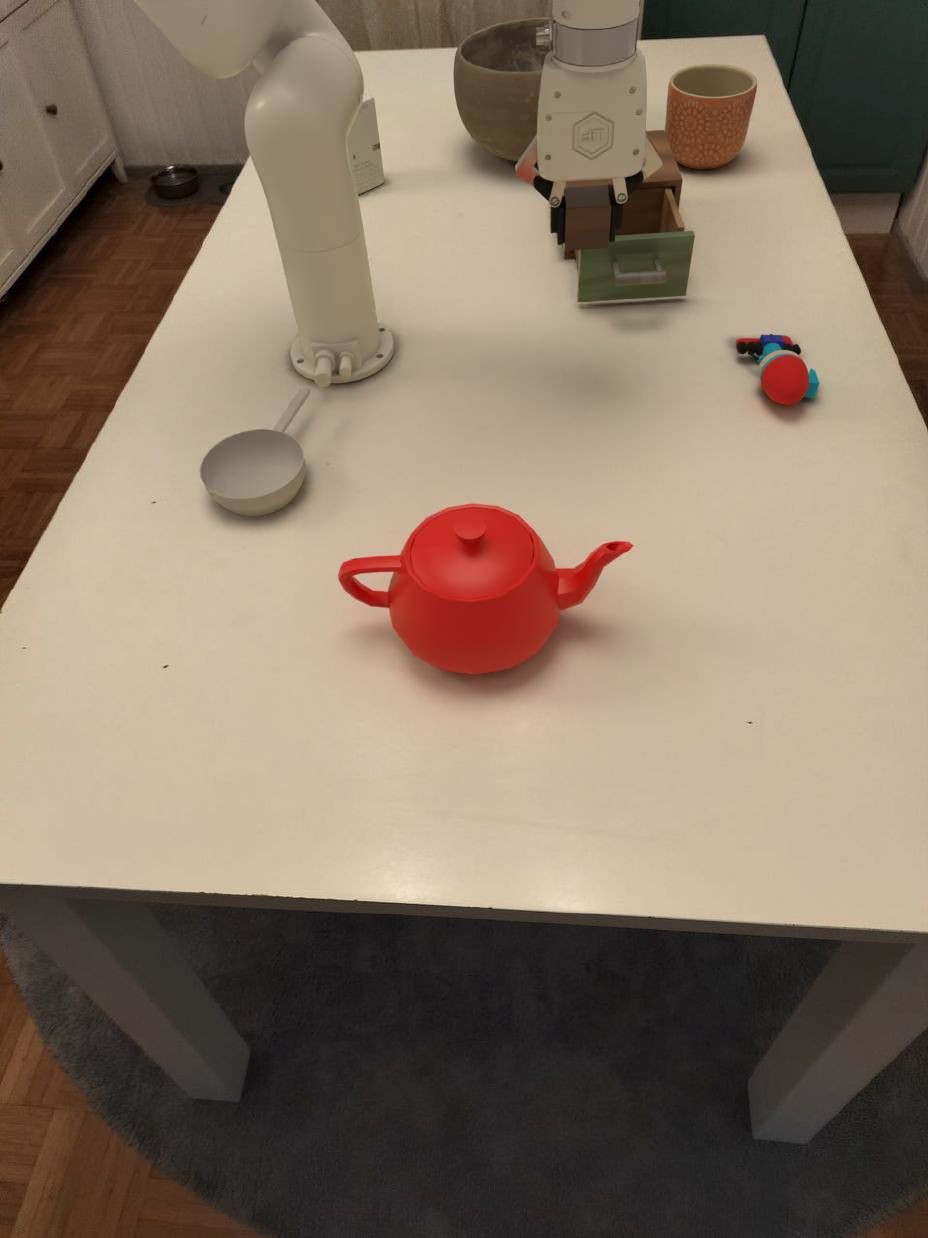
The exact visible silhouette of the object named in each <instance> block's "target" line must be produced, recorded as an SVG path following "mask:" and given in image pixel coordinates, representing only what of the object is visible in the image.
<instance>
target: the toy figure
mask: <svg viewBox="0 0 928 1238" xmlns="http://www.w3.org/2000/svg"><path fill="white" fill-rule="evenodd" d="M735 345H736V350H737V352H738V353H739V354H740V355H746V354H747V355H749V356H750V357H751V358H753V359H754V360H755V361H757V363H758V364H759V365H758V370H757V371H758V372H757V373H758V378H759V381H760V386H761V388H762V390H763V392H764V393H765V394H766V396H767V397H768V398H769V399H771V400H772V401H773V402H775V403H777V404H780V405H784V406H785V405H786V406H789V405H791V406H792V405H794V404H797V403H799V402H800V401H801V400H802V399H804V397H805V398H808V399H809V398H815V397H816V395H817V392H818V388H819V385H820V380H819V378H818V375H817V372H816V370H814V368H811V367H810V369H808V367H807V364H806V362H805V361H804V360H803V358H802V357H801V356H800V355H801V353H802V348H801V347H800V345H799V344H797V343H795V344H794V342H793V340H792V338H791V337H790V336H788V335H783V334H773V333H770V334H760V337H759V338H758V337H757V338H756V337H742V338H737V339H735Z"/></svg>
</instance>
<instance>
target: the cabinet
mask: <svg viewBox="0 0 928 1238" xmlns="http://www.w3.org/2000/svg"><path fill="white" fill-rule="evenodd" d="M646 133H647V135H648V136H649V138H650V140H651V141H652V143H653V144H654V146H655V147H656V149H657V151H658V152H659V154H660V155H661V158H662V162H663V165H662V167H661V168H660V169H658V170H657V171H656V172H654V173H653V174H652V175H650V176H649V177H648V178H645V179H644V180H643V182H642V183H641V184H640V185H639V186H638V187H637V188H652V187H667V186H670V187H671V190H672V193H673V196H674V198H675V201H676V204H677V207H678V210H679V211H680V202H681V195H682V186H683V181H684V179H683V176H682V174H681V171H680V169H679V166H678V162H677V161H676V160H675V158H674V155H673V152H672V150H671V147H670V145H669V142H668V139H667V137H666V134H665V129H656V130H646ZM595 185H607V186H608V190H610V189H611V188H612V187H613V183H612V179H597V180H579V181H566V185H565V187H578V186H595ZM637 188H636V189H637ZM561 247H562V248H561V249H562V253H563V258H564V259H565V260H566V259H576V256H575V251H574V250H572V251H565V248H564V243H563V245H561Z"/></svg>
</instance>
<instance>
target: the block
mask: <svg viewBox="0 0 928 1238" xmlns="http://www.w3.org/2000/svg"><path fill="white" fill-rule="evenodd" d="M563 196H564V202H565V240H564V248H565V251H572V250H591V249H608V248H609V234H610V219H611V201H610V196H609V191H608V186H607V185H595V186H578V187H565V189H564V192H563Z"/></svg>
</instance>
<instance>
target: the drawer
mask: <svg viewBox="0 0 928 1238" xmlns="http://www.w3.org/2000/svg"><path fill="white" fill-rule="evenodd" d="M608 191H609V190H608ZM685 228H686V227H685V224H684V221H683V219H682V216H681V212H680V209H679V210H678V207H677V204H676V201H675V198H674V196H673V193H672V190H671V187H670V186H667V187H652V188H637V189H635V190H634V191H633V192H632V193H631V194H630V195H629V196H628V199H627V201H626V202H625V203H624V204H623V216H622V228H621V230H616V232H615V242H609V248H608V249H591V250H574V251H575V256H576V258H575V261H576V265H577V296H576V298H577V299H576V300H577V303H591V302H606V301H623V300H624V301H625V300H640V299H657V298H671V297H686V296H687V290H688V283H689V276H690V271H691V264H692V257H693V251H694V245H695V244H694V243H695V233H694V230H685Z"/></svg>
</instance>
